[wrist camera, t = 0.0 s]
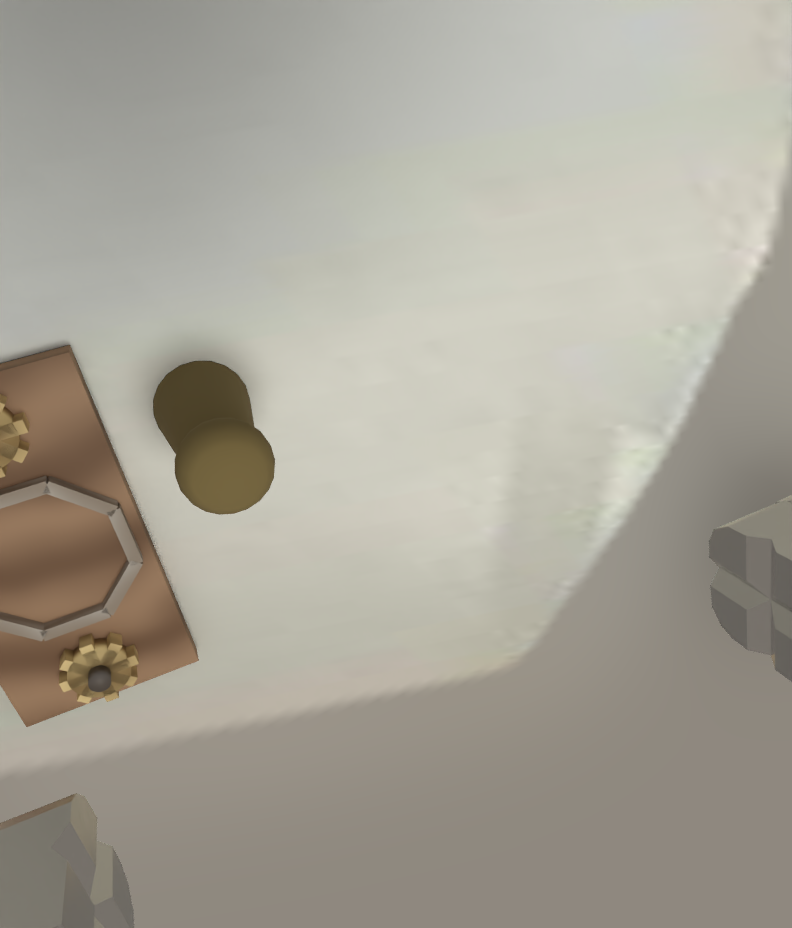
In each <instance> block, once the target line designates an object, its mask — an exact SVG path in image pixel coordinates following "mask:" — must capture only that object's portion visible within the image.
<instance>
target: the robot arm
mask: <svg viewBox="0 0 792 928" xmlns="http://www.w3.org/2000/svg"><path fill="white" fill-rule="evenodd" d="M709 558H710V559H711V560H712V561H713V562H715V564H716V565H717V566H718V567H719V569H718V571H717V573H716V575H715V577H714V579H713V581H712V583H711V585H710V588H711V600H712V608H713V609H714V612H715V614H716V616H717V618H718V620H719V622H720V624H721V626H722V627H723V628H724V629H725V631H726V632H727V633H728V634H729V635H730V636H731V638H732V639H734V640H735V641H736V642H738V643H739V644H740V645H742V646H743V647H744V648H746V649H747V650H750V651H755V652H759V653H763V654H768V655H771V658H772V661H773V664H774V668H775V670H776V671H778V672H779V673H780V674H782V675H783V676H785V677H786V678H787V679H789V680H790V681H792V495H791V496H789V497H786V498H784V499H782V500H780V501H777V502H776V503H775V504H773V505H771V506H768V507H766V508H764V509H761V510H759V511H756V512H754V513H751V514H749V515H747V516H744V517H742V518H740V519H737V520H735V521H733V522H730V523H728V524H725V525H723V526H721V527H718V528H716V529H714V530H713V532H712V535H711V537H710V540H709ZM0 928H134V913H133V906H132V901H131V895H130V890H129V885H128V881H127V878H126V876H125V873H124V870H123V867H122V864H121V862H120V860H119V858H118V856H117V854H116V852H115V850H114V848H113V847H112V846H110V845H107V844H105V843H102V842H99V841H97V817H96V815H95V813H94V811H93V810H92V808H91V806H90V805H89V803H88V801H87V799H86V798H85V796H83V795H80V794H77V793H76V794H73V795H71V796H68V797H66V798H63V799H61V800H58V801H56V802H53V803H51V804H48V805H45V806H43V807H40V808H38V809H35V810H33V811H30V812H27V813H25V814H23V815H20V816H17V817H15V818H12V819H9V820H7V821H4V822H2V823H0Z"/></svg>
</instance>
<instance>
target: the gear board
mask: <svg viewBox="0 0 792 928" xmlns="http://www.w3.org/2000/svg"><path fill="white" fill-rule="evenodd" d="M196 661H199V659H198V654H197V649H196V646H195V644H194V641H193V639H192V636H191V634H190V632H189V629H188V627H187V625H186V622H185V620H184V617H183V615H182V613H181V610H180V608H179V605H178V603H177V601H176V598H175V596H174V593H173V591H172V589H171V586H170V584H169V581H168V579H167V577H166V574H165V572H164V569H163V567H162V565H161V562H160V560H159V557H158V555H157V553H156V550H155V548H154V545H153V543H152V541H151V538H150V536H149V534H148V531H147V529H146V526H145V524H144V522H143V519H142V517H141V514H140V512H139V510H138V507H137V505H136V502H135V500H134V498H133V495H132V493H131V490H130V488H129V486H128V483H127V481H126V478H125V476H124V474H123V471H122V469H121V466H120V464H119V462H118V459H117V457H116V454H115V452H114V450H113V447H112V445H111V443H110V440H109V438H108V435H107V433H106V431H105V428H104V426H103V423H102V421H101V419H100V416H99V414H98V411H97V409H96V407H95V404H94V402H93V399H92V397H91V395H90V392H89V390H88V387H87V385H86V383H85V380H84V378H83V375H82V373H81V371H80V368H79V366H78V363H77V361H76V359H75V356H74V354H73V352H72V349H71V347H70V345H67V346H64V347H60V348H56V349H53V350H49V351H45V352H42V353H38V354H34V355H31V356H27V357H23V358H20V359H16V360H12V361H9V362H5V363H1V364H0V685H1V687H2V688H3V690H4V691H5V693H6V695H7V696H8V698H9V700H10V701H11V703H12V704H13V706H14V708H15V709H16V711H17V712H18V714H19V716H20V717H21V719H22V720H23V722H24V724H25V725H26V727H28V726H31V725H34V724H36V723H39V722H41V721H44V720H46V719H49V718H52V717H54V716H57V715H59V714H62V713H65V712H67V711H70V710H72V709H75V708H77V707H80V706H83V705H85V704H89V703H90V702H93V701H96V700H98V699H101V698H103V697H105V699H106V701H107V702H108V701H111V700H113V699H116V698H119V691H121V690H124V689H127V688H129V687H132V686H134V685H137V684H139V683H142V682H145V681H147V680H150V679H152V678H155V677H158V676H160V675H163V674H165V673H168V672H170V671H173V670H176V669H178V668H181V667H183V666H186V665H189V664H191V663H194V662H196Z"/></svg>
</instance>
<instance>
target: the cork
mask: <svg viewBox="0 0 792 928" xmlns="http://www.w3.org/2000/svg"><path fill="white" fill-rule="evenodd" d="M153 412H154V417H155V419H156V422H157V424H158V427H159V429H160V430H161V432H162V433H163V435H164V436H165V438H166V440H167V441H168V443H169V444H170V446H171V447H172V449H173V450H174V452H175V453H176V457H175V476H176V479H177V482H178V484H179V487H180V490H181V492H182V493H183V494H184V495H185V496H186V497H187V498H188V499H189V501H190V502H191V503H192V504H193V505H195V506H197V507H199V508H200V509H202V510H204V511H206V512H210V513H215V514H234V513H237V512H240V511H243V510H246V509H248V508H250V507H251V506H253V505H254V504H256V503H257V502H258V501H260V500H261V499H262V497H263V496H264V495H265V494H266V492H267V491H268V490H269V488H270V485H271V483H272V481H273V478H274V466H275V458H274V455H273V452H272V448H271V446H270V444H269V442H268V441H267V440H266V438H265V437H264V436H263V434H262V433H261V432H260V431H259V430H258V429H256V428H255V427H254V422H253V416H252V410H251V404H250V398H249V395H248V392H247V389H246V386H245V384H244V383H243V381H242V380H241V379H240V377H239V376H238V375H237V374H236V373H235V372H233V371H232V370H231V369H229V368H228V367H226V366H224V365H221V364H218V363H215V362H212V361H194V362H190V363H187V364H184V365H180V366H179V367H177V368H176V369H174V370H173V371H171V372H170V373H168V374H167V375H166V376H165V378H164V379H163V380H162V382H161V383H160V384H159V385H158V388H157V390H156V393H155V396H154V399H153Z"/></svg>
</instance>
